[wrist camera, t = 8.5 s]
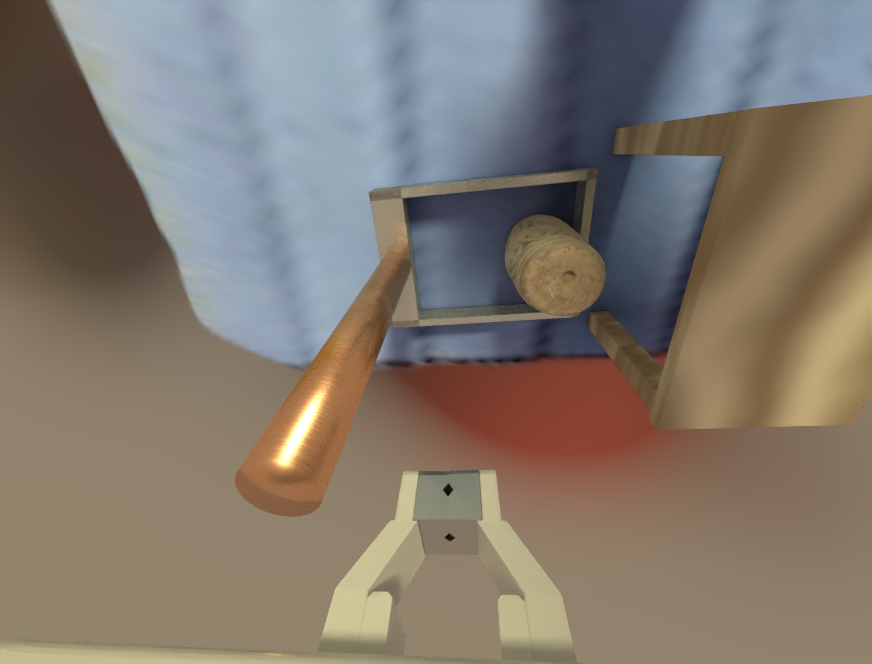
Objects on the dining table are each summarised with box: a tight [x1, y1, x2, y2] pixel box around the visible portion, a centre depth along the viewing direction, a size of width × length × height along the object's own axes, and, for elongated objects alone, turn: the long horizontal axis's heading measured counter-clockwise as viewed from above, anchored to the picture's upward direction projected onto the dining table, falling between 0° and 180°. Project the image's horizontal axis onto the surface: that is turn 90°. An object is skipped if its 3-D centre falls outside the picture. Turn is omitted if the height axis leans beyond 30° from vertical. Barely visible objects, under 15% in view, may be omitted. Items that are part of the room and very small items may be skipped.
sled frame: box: [235, 168, 598, 517], centre depth 23 cm, size 20×14×28 cm
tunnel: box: [588, 95, 872, 430], centre depth 26 cm, size 13×20×16 cm, turn 5°
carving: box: [505, 214, 606, 316], centre depth 29 cm, size 6×8×12 cm
